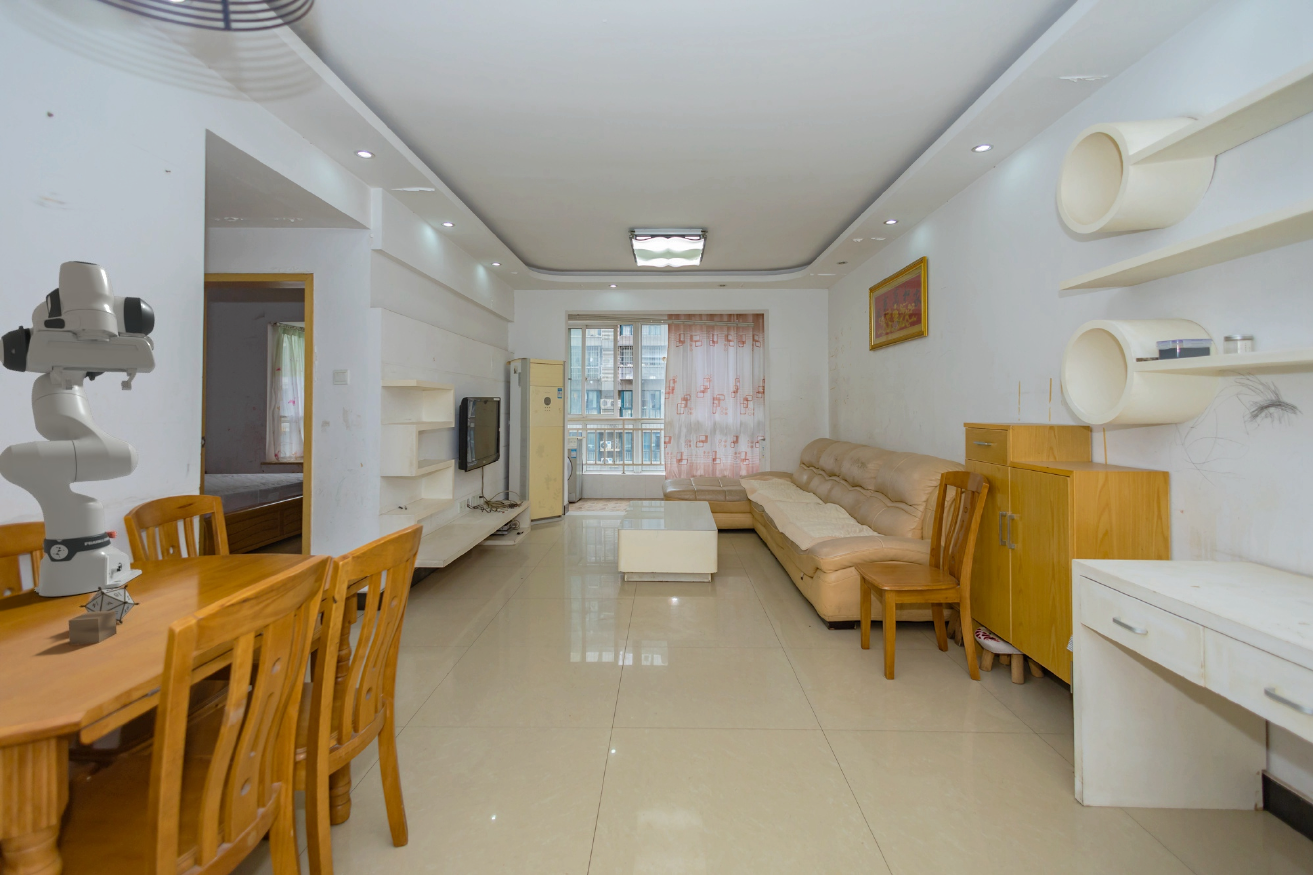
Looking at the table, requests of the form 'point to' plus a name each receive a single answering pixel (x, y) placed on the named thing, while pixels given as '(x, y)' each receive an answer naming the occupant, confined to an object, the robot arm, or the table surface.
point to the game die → (111, 602)
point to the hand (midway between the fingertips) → (98, 389)
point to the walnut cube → (92, 627)
